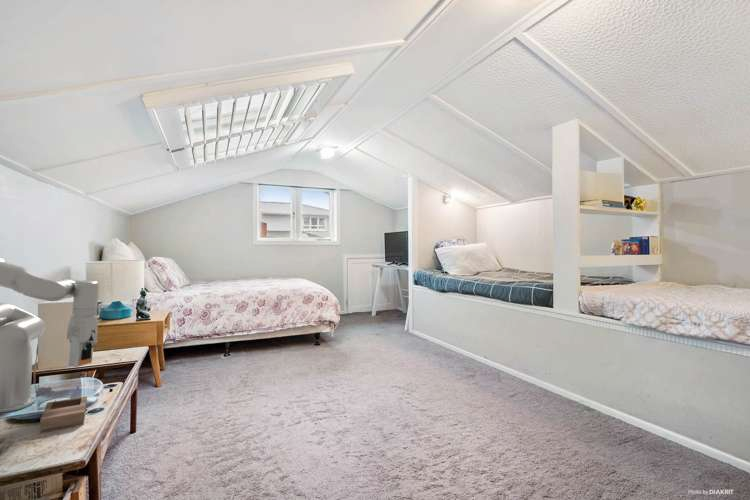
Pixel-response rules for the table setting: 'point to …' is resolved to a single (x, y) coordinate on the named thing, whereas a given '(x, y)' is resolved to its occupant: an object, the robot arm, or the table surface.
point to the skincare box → (77, 353)
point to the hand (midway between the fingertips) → (81, 357)
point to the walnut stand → (63, 414)
